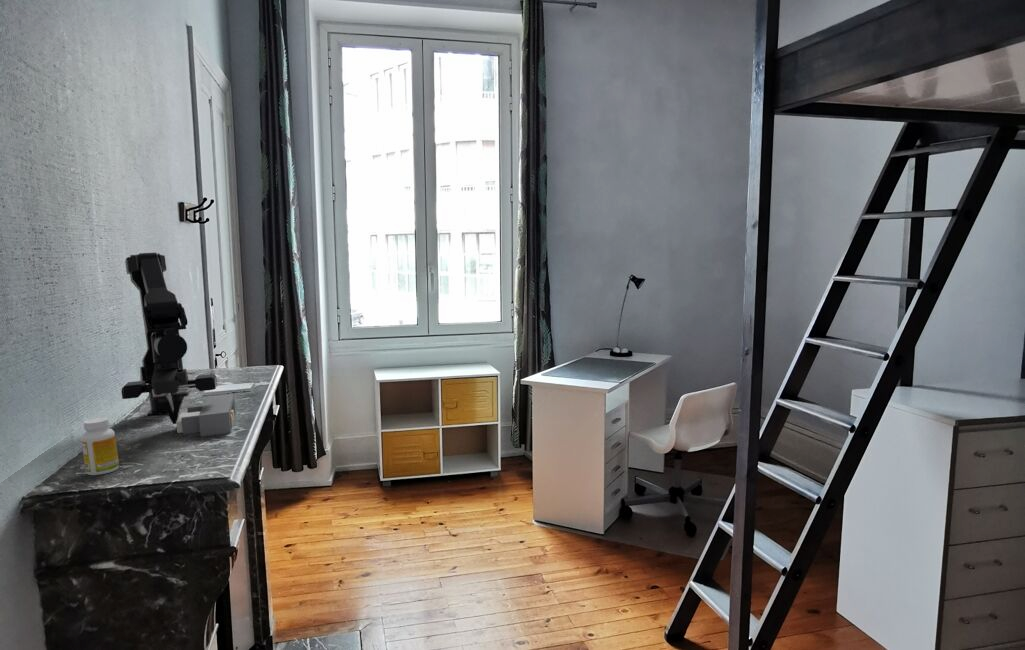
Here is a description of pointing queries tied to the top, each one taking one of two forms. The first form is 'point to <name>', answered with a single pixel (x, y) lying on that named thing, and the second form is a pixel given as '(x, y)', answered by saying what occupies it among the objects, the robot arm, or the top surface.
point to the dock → (211, 416)
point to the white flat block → (178, 422)
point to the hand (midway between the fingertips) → (175, 423)
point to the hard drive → (230, 388)
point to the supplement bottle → (99, 447)
